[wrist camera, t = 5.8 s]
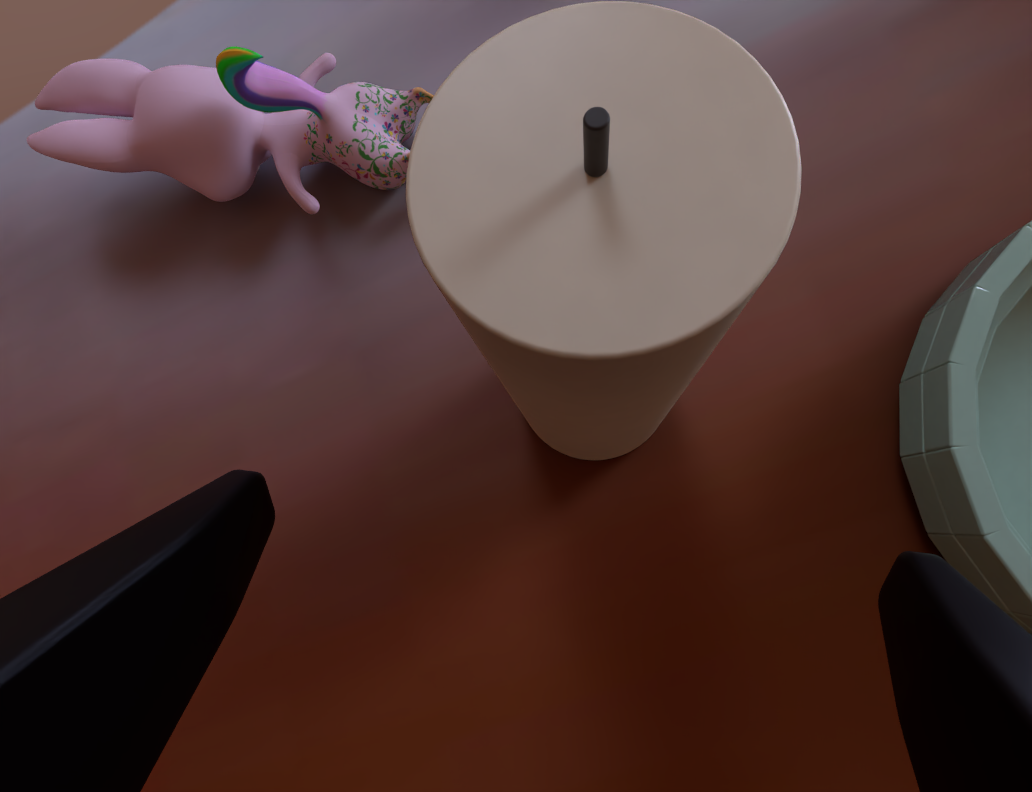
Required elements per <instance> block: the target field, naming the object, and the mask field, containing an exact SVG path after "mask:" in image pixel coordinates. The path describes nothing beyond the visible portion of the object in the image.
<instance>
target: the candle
mask: <svg viewBox="0 0 1032 792" xmlns="http://www.w3.org/2000/svg"><path fill="white" fill-rule="evenodd" d="M801 172H802V166H801V158H800V149H799V141H798V138H797V134H796V130H795V127H794V123H793V119H792V116H791V114H790V112H789V110H788V107H787V105H786V103H785V101H784V98H783V96H782V95H781V93H780V91H779V90H778V88H777V87H776V85H775V83H774V82H773V80H772V79H771V77H770V76H769V74H768V73H767V72H766V71H765V70H764V68H763V67H762V66H761V65H760V64H759V63H758V61H757V60H756V59H755V58H754V57H753V56H752V55H751V54H750V53H748V52H747V51H746V50H745V49H744V48H743V47H742V46H741V45H740V44H738V43H737V42H736V41H734V40H733V39H732V38H730V37H729V36H727V35H726V34H724V33H723V32H721V31H720V30H718V29H717V28H715V27H713V26H711V25H709V24H707V23H705V22H703V21H701V20H699V19H697V18H695V17H692V16H689V15H687V14H684V13H681V12H679V11H676V10H673V9H669V8H664V7H660V6H656V5H652V4H645V3H636V2H628V1H598V2H589V3H580V4H574V5H569V6H565V7H560V8H556V9H552V10H549V11H546V12H543V13H540V14H537V15H534V16H531V17H529V18H527V19H525V20H523V21H520V22H518V23H516V24H514V25H512V26H510V27H508V28H506V29H505V30H503V31H501V32H500V33H498V34H496V35H495V36H493V37H492V38H490V39H488V40H487V41H486V42H484V43H483V44H482V45H481V46H479V47H478V48H477V49H475V50H474V51H473V52H472V53H470V54H469V55H468V56H467V57H466V58H465V59H464V60H463V61H462V62H461V63H460V64H459V65H458V66H457V67H456V68H455V69H454V70H453V71H452V72H451V73H450V75H449V76H448V77H447V78H446V80H445V81H444V82H443V83H442V85H441V86H440V87H439V88H438V90H437V92H436V93H435V95H434V97H433V98H432V100H431V101H430V103H429V105H428V106H427V108H426V110H425V112H424V114H423V117H422V119H421V121H420V123H419V125H418V128H417V130H416V134H415V137H414V140H413V144H412V147H411V150H410V156H409V162H408V168H407V174H406V204H407V212H408V220H409V224H410V228H411V232H412V236H413V239H414V243H415V245H416V247H417V250H418V252H419V254H420V257H421V259H422V262H423V264H424V265H425V267H426V269H427V270H428V272H429V274H430V275H431V277H432V279H433V280H434V282H435V283H436V285H437V286H438V288H439V289H440V291H441V292H442V294H443V295H444V297H445V298H446V300H447V302H448V303H449V305H450V306H451V308H452V309H453V311H454V312H455V314H456V315H457V317H458V318H459V320H460V321H461V323H462V324H463V326H464V327H465V329H466V330H467V332H468V333H469V335H470V336H471V338H472V339H473V341H474V342H475V344H476V345H477V347H478V348H479V350H480V351H481V353H482V354H483V356H484V357H485V359H486V360H487V362H488V363H489V365H490V366H491V368H492V369H493V371H494V372H495V374H496V375H497V377H498V378H499V380H500V381H501V383H502V384H503V386H504V387H505V389H506V390H507V392H508V393H509V395H510V396H511V398H512V399H513V401H514V402H515V404H516V405H517V407H518V408H519V410H520V411H521V413H522V414H523V416H524V417H525V419H526V420H527V422H528V423H529V425H530V426H531V428H532V429H533V430H534V432H535V433H536V434H537V435H538V436H539V437H540V438H541V439H542V440H543V441H544V442H545V443H546V444H548V445H549V446H550V447H552V448H553V449H555V450H557V451H559V452H561V453H563V454H565V455H568V456H570V457H574V458H578V459H584V460H605V459H611V458H615V457H618V456H621V455H624V454H626V453H628V452H631V451H632V450H634V449H635V448H637V447H639V446H640V445H641V444H643V443H644V442H645V441H646V440H647V439H648V438H649V437H650V436H651V435H652V434H653V433H654V432H655V430H656V429H657V428H658V426H659V425H660V423H661V422H662V421H663V419H664V418H665V417H666V415H667V414H668V412H669V411H670V410H671V408H672V407H673V405H674V404H675V403H676V401H677V400H678V398H679V397H680V396H681V394H682V393H683V392H684V390H685V389H686V387H687V386H688V385H689V383H690V382H691V380H692V379H693V378H694V376H695V375H696V374H697V372H698V371H699V369H700V368H701V367H702V365H703V364H704V362H705V361H706V360H707V358H708V357H709V355H710V354H711V353H712V351H713V350H714V349H715V347H716V346H717V344H718V343H719V342H720V340H721V339H722V337H723V336H724V335H725V333H726V332H727V331H728V329H729V328H730V326H731V325H732V324H733V322H734V321H735V319H736V318H737V317H738V315H739V314H740V313H741V311H742V310H743V308H744V307H745V306H746V304H747V303H748V301H749V300H750V299H751V297H752V296H753V294H754V293H755V292H756V290H757V289H758V288H759V286H760V285H761V283H762V282H763V281H764V279H765V278H766V276H767V275H768V274H769V272H770V271H771V269H772V268H773V267H774V265H775V264H776V262H777V260H778V258H779V256H780V254H781V252H782V251H783V249H784V247H785V245H786V243H787V241H788V238H789V235H790V233H791V230H792V227H793V224H794V221H795V218H796V214H797V209H798V204H799V199H800V193H801Z"/></svg>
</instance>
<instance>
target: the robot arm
mask: <svg viewBox="0 0 1032 792" xmlns="http://www.w3.org/2000/svg"><path fill="white" fill-rule="evenodd" d="M274 521H275V510H274V507H273V503H272V500H271V497H270V494H269V490H268V487H267V484H266V481H265V478H264V476H263V475H262V474H261V473H258V472H254V471H245V470H233V471H231V472H228V473H227V474H225V475H223V476H221V477H219V478H218V479H216V480H214V481H212V482H210V483H209V484H207V485H205V486H203V487H201V488H200V489H198V490H196V491H194V492H192V493H190V494H189V495H187V496H185V497H183V498H181V499H180V500H178V501H176V502H174V503H172V504H171V505H169V506H167V507H165V508H163V509H162V510H160V511H158V512H156V513H154V514H153V515H151V516H149V517H147V518H145V519H144V520H142V521H140V522H138V523H136V524H135V525H133V526H131V527H129V528H127V529H126V530H124V531H122V532H120V533H118V534H117V535H115V536H113V537H111V538H109V539H108V540H106V541H104V542H102V543H100V544H99V545H97V546H95V547H93V548H91V549H89V550H88V551H86V552H84V553H82V554H80V555H79V556H77V557H75V558H73V559H71V560H70V561H68V562H66V563H64V564H62V565H61V566H59V567H57V568H55V569H53V570H52V571H50V572H48V573H46V574H44V575H43V576H41V577H39V578H37V579H35V580H33V581H32V582H30V583H28V584H26V585H24V586H23V587H21V588H19V589H17V590H15V591H14V592H12V593H10V594H8V595H6V596H5V597H3V598H1V599H0V792H140V791H141V789H142V788H143V786H144V784H145V782H146V780H147V778H148V777H149V775H150V773H151V771H152V769H153V767H154V765H155V764H156V762H157V760H158V758H159V756H160V754H161V753H162V751H163V749H164V747H165V745H166V743H167V742H168V740H169V738H170V736H171V734H172V732H173V731H174V729H175V727H176V725H177V723H178V721H179V720H180V718H181V716H182V714H183V712H184V710H185V709H186V707H187V705H188V703H189V701H190V699H191V697H192V696H193V694H194V692H195V690H196V688H197V686H198V685H199V683H200V681H201V679H202V677H203V675H204V674H205V672H206V670H207V668H208V666H209V664H210V663H211V661H212V659H213V657H214V655H215V653H216V652H217V650H218V648H219V646H220V644H221V642H222V641H223V639H224V637H225V635H226V633H227V631H228V629H229V627H230V625H231V624H232V622H233V620H234V618H235V616H236V614H237V611H238V609H239V607H240V605H241V602H242V600H243V598H244V595H245V593H246V591H247V588H248V586H249V583H250V581H251V579H252V576H253V574H254V571H255V569H256V567H257V564H258V562H259V559H260V557H261V555H262V552H263V550H264V547H265V545H266V543H267V540H268V538H269V535H270V533H271V531H272V528H273V525H274ZM878 607H879V613H880V619H881V624H882V630H883V635H884V641H885V646H886V652H887V657H888V663H889V669H890V674H891V680H892V685H893V691H894V696H895V702H896V707H897V711H898V716H899V721H900V725H901V728H902V732H903V736H904V739H905V743H906V746H907V750H908V753H909V756H910V760H911V763H912V766H913V770H914V773H915V776H916V780H917V783H918V787H919V790H920V792H1032V635H1031V634H1030V633H1028V632H1027V631H1026V630H1025V629H1024V628H1023V627H1021V626H1020V625H1019V624H1018V623H1017V622H1016V621H1015V620H1013V619H1012V618H1011V617H1010V616H1009V615H1008V614H1006V613H1005V612H1004V611H1003V610H1002V609H1001V608H999V607H998V606H997V605H996V604H995V603H994V602H993V601H991V600H990V599H989V598H988V597H987V596H986V595H984V594H983V593H982V592H981V591H980V590H979V589H978V588H976V587H975V586H974V585H973V584H972V583H971V582H969V581H968V580H967V579H966V578H965V577H964V576H963V575H961V574H960V573H959V572H958V571H957V570H956V569H954V568H953V567H952V566H951V565H950V564H949V563H947V562H946V561H945V560H944V559H942V558H941V557H939V556H937V555H934V554H928V553H920V552H912V551H905V552H902V553H901V554H899V556H898V557H897V559H896V560H895V562H894V564H893V566H892V568H891V570H890V572H889V574H888V576H887V578H886V580H885V582H884V584H883V585H882V587H881V590H880V593H879V599H878Z"/></svg>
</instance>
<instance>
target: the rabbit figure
mask: <svg viewBox="0 0 1032 792" xmlns="http://www.w3.org/2000/svg"><path fill="white" fill-rule="evenodd" d="M260 58H263V56H261V55H259V54H257V53H256V52H254V51H251V50H249V49H245V48H241V47H229V48H226V49H225V50H223V51H222V52H221V53H220V54H219V55H218V56H217V59H216V68H211V67H203V66H193V65H172V66H166V67H162V68H159V69H157V70H154V71H150V70H149V69H147V68H145V67H144V66H142V65H140V64H138V63H135V62H132V61H128V60H122V59H108V58H107V59H92V60H84V61H79V62H76V63H73V64H71V65H69V66H67V67H65V68H63V69H62V70H61V71H59V72H58V73H57V74H56V75H54V77H52V79H51V80H50V81H49V82H48V83H47V84H46V85H45V87H44V88H43V89H42V91H41V92H40V94H39V95H38V97H37V98H36V101H35V106H36V107H37V108H38V109H41V110H56V111H62V112H76V113H87V114H96V115H110V116H124V117H133V119H132V120H122V119H114V118H98V119H88V120H69V121H64V122H60V123H57V124H55V125H52V126H50V127H48V128H46V129H44V130H41V131H39V132H37V133H34V134H31V135H29V136H28V138H27V143H28V144H29V146H30V147H31V148H32V149H34V150H35V151H37V152H39V153H41V154H43V155H46V156H49V157H51V158H55V159H58V160H61V161H65V162H69V163H74V164H78V165H81V166H85V167H89V168H93V169H97V170H103V171H110V172H121V173H128V172H141V171H156V172H160V173H163V174H166V175H168V176H170V177H172V178H174V179H176V180H178V181H179V182H181V183H183V184H185V185H186V186H188V187H190V188H192V189H194V190H196V191H198V192H199V193H201V194H203V195H204V196H206V197H208V198H210V199H212V200H214V201H218V202H224V201H229V200H232V199H235V198H237V197H239V196H241V195H243V194H244V193H246V192H247V191H248V190H249V188H250V187H251V185H252V184H253V182H254V179H255V176H256V173H257V171H258V170H259V166H260V164H262V163H263V162H265V161H266V160H268V159H269V158H270V156H271V154H272V156H273V159H274V162H275V165H276V169H277V171H278V173H279V175H280V177H281V180H282V182H283V184H284V186H285V188H286V189H287V191H288V192H289V194H290V195H291V196H292V197H293V199H294V200H295V201H296V202H297V203H298V204H299V205H300V206H301V208H302V209H303V210H304V211H306V212H307V213H309V214H316V213H317V212H318V211H319V207H320V205H319V202H318V201H317V199H316V198H315V197H313V196H312V195H311V194H309V193H308V192H307V191H306V190H305V189H304V187H303V185H302V182H301V179H300V170H301V168H302V167H304V166H308V165H313V164H317V163H322V162H330V163H332V164H334V165H336V166H338V167H339V168H341V169H342V170H343V171H345V172H346V173H347V174H349V175H350V176H351V177H353V178H354V179H356V180H358V181H360V182H361V183H363V184H365V185H368V186H370V187H373V188H377V189H381V190H393V189H397V188H399V187H400V186H402V185H403V184H404V183H405V182H406V174H407V168H408V162H409V156H410V150H408V149H407V148H405V147H404V146H403V145H401V143H402V142H404V141H405V140H407V139H408V138H409V137H410V136H411V135H412V133H413V131H414V128H415V124H416V115H417V112H418V110H419V108H420V106H421V105H423V104H424V103H430V101H431V100H432V98H433V97H434V95H432V94H430V93H428V92H427V91H425V90H424V89H422V88H420V87H416V88H414V89H412V90H409V91H400V90H392V89H387V88H383V87H380V86H377V85H374V84H370V83H366V82H354V83H349V84H345V85H342V86H340V87H338V88H336V89H334V90H333V91H332V92H330V93H323V92H321V91H319V90H317V89H315V88H314V85H315V84H316V82H317V81H318V80H319V79H320V78H321V77H322V76H324V75H325V74H327V73H329V72H330V71H332V70H333V69H334V67H335V65H336V59H335V57H334V56H333V55H332V54H331V53H325V54H323V55H321V56H320V57H319V58H318V59H317V60H316V61H314V62H313V63H312V64H311V65H310V66H309V67H308V68H307V69H306V70H305V71H304V72H303V73H302V74H301V75H300V76H299V77H296V76H294V75H291V74H289V73H287V72H284V71H282V70H279V69H277V68H274V67H272V66H269V65H266V64H264V63H261V62H258V61H256V60H258V59H260ZM264 112H273V113H270V114H264Z"/></svg>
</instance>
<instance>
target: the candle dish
mask: <svg viewBox="0 0 1032 792" xmlns="http://www.w3.org/2000/svg"><path fill="white" fill-rule="evenodd" d="M899 412H900V457H902V458H901V461H902V464H903V466H904V469H905V472H906V475H907V478H908V481H909V484H910V486H911V489H912V492H913V495H914V498H915V501H916V504H917V507H918V509H919V512H920V515H921V518H922V521H923V524H924V527H925V530H926V532H927V533H928V536H929V538H930V539H931V540H932V542H933V543H934V545H935V546H936V547H937V549H938V550H939V551H940V553H941V554H942V556H943V557H944V558H945V560H946V561H947V562H948V563H949V564H950V565H951V566H952V567H953V568H954V569H956V570H957V571H958V572H959V573H960V574H961V575H963V576H964V577H965V578H966V579H967V580H968V581H969V582H971V583H972V584H973V585H974V586H975V587H976V588H978V589H979V590H980V591H981V592H982V593H983V594H984V595H986V596H987V597H988V598H989V599H990V600H991V601H993V602H994V603H995V604H996V605H997V606H998V607H999V608H1001V609H1002V610H1003V611H1004V612H1005V613H1006V614H1008V615H1009V616H1010V617H1011V618H1012V619H1013V620H1015V621H1016V622H1017V623H1018V624H1019V625H1020V626H1021V627H1023V628H1024V629H1025V630H1026V631H1027V632H1028V633H1030V634H1031V635H1032V221H1030V222H1029V223H1027V224H1026V225H1024V226H1023V227H1021V228H1020V229H1018V230H1017V231H1015V232H1014V233H1012V234H1011V235H1009V236H1008V237H1006V238H1005V239H1004V240H1002V241H1001V242H999V243H998V244H996V245H995V246H993V247H992V248H990V249H989V250H987V251H986V252H984V253H983V254H981V255H980V256H978V257H977V258H976V259H974V260H973V261H971V262H970V263H969V264H968V265H967V266H966V267H965V268H964V269H963V271H962V272H961V273H960V274H959V275H958V276H957V278H956V279H955V280H954V281H953V282H952V284H951V285H950V286H949V287H948V288H947V289H946V291H945V292H944V293H943V294H942V295H941V297H940V298H939V299H938V300H937V301H936V302H935V304H934V305H933V306H932V307H931V308H930V310H929V311H928V312H927V313H926V314H925V317H924V318H923V320H922V322H921V325H920V328H919V331H918V334H917V336H916V339H915V342H914V345H913V347H912V350H911V353H910V356H909V359H908V361H907V364H906V367H905V370H904V373H903V375H902V378H901V383H900V384H899Z"/></svg>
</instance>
